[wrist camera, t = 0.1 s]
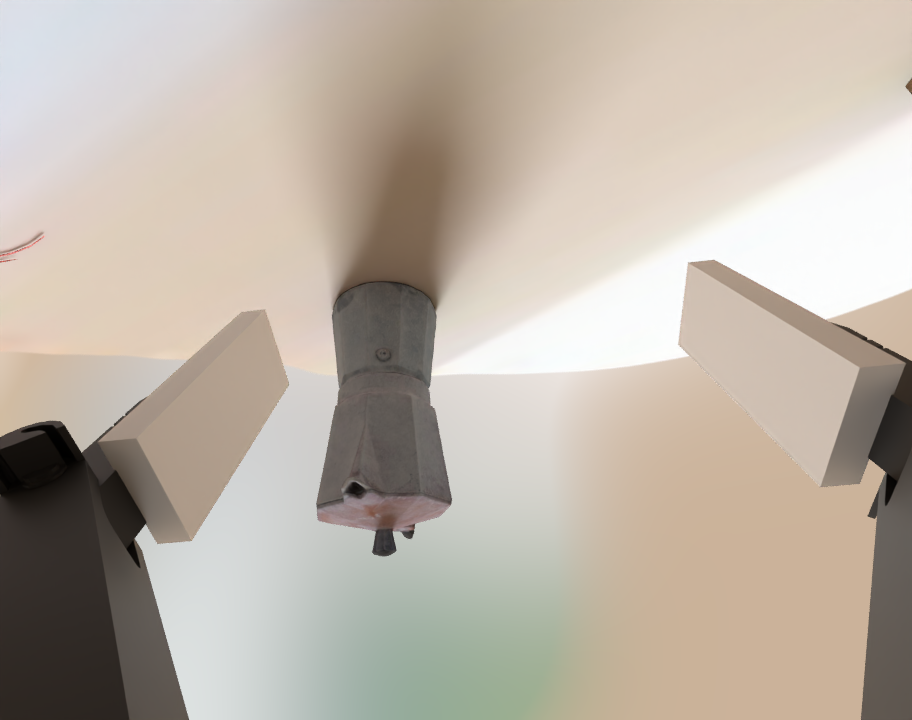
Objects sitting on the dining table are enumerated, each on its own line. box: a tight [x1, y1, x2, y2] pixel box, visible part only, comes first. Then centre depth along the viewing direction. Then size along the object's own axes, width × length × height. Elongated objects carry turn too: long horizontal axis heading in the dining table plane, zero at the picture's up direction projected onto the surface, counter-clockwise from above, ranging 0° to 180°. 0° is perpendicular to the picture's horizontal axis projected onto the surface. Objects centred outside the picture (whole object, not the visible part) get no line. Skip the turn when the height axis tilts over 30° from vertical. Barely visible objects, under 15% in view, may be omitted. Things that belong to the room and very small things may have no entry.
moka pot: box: [316, 282, 452, 556], centre depth 36 cm, size 10×15×20 cm, turn 13°
